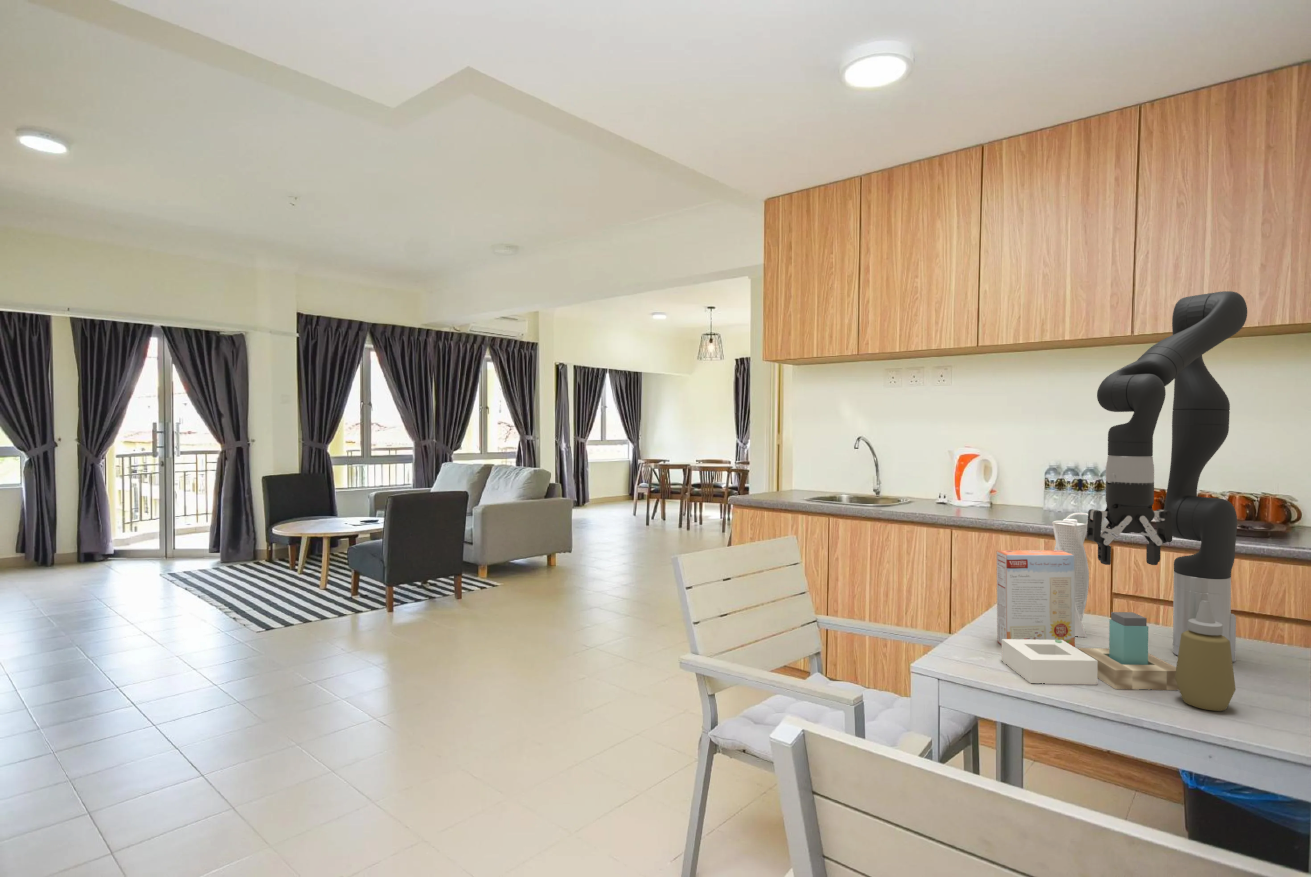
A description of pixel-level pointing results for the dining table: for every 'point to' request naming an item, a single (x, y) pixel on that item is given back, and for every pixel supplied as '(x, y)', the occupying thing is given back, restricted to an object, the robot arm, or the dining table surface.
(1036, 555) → the cracker box
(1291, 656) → the dining table surface
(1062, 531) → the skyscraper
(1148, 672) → the wooden square frame
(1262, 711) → the dining table surface
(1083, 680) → the port block
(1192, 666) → the squeeze bottle
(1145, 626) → the plug
